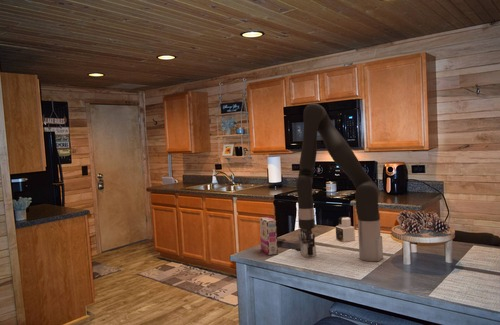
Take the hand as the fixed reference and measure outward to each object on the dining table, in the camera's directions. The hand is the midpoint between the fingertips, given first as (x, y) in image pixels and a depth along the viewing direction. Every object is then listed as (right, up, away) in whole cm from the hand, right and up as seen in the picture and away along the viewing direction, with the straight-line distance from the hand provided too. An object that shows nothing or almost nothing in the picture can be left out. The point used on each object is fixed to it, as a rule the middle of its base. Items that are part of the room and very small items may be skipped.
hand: (308, 253), depth 177 cm
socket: (0, -1, 0) cm, 1 cm away
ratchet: (-7, 0, +15) cm, 16 cm away
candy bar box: (-18, -2, +8) cm, 20 cm away
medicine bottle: (+23, +2, +22) cm, 32 cm away
